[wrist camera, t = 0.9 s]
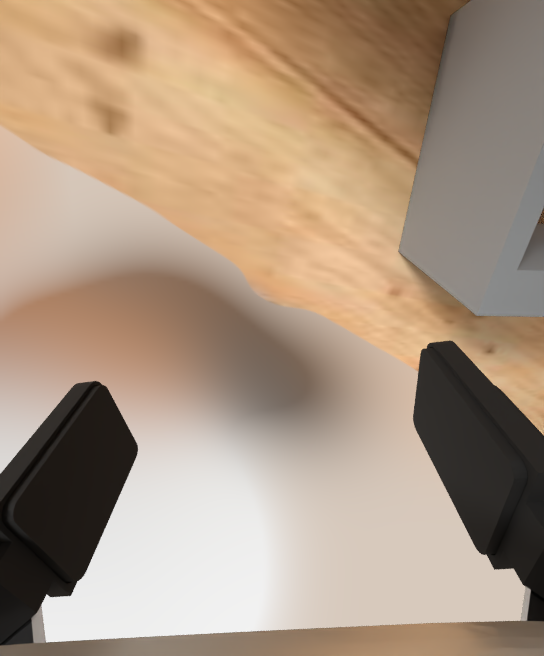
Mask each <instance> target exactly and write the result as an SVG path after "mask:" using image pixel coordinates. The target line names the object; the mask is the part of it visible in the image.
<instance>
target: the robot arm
mask: <svg viewBox="0 0 544 656" xmlns="http://www.w3.org/2000/svg"><path fill="white" fill-rule="evenodd" d="M413 421H414V425H415V428H416V431H417V433H418V434H419V437H420V438H421V440H422V442H423V444H424V446H425V448H426V450H427V452H428V454H429V456H430V458H431V460H432V462H433V464H434V466H435V468H436V470H437V472H438V474H439V476H440V478H441V480H442V482H443V484H444V486H445V488H446V490H447V492H448V493H449V496H450V498H451V499H452V502H453V504H454V505H455V507H456V510H457V512H458V514H459V516H460V518H461V520H462V522H463V523H464V525H465V528H466V529H467V531H468V533H469V535H470V537H471V539H472V541H473V543H474V545H475V547H476V549H477V550H478V551H479V553H481V554H483V555H485V554H487V556H488V558H489V560H490V562H491V564H492V566H493V568H494V569H511V568H514V570H515V571H516V573H517V575H518V577H519V578H520V580H521V582H522V584H523V585H524V586H526V589H525V595H524V602H523V608H522V616H521V621H503V622H502V621H498V622H463V623H462V622H460V623H459V622H458V623H426V624H425V623H424V624H403V625H380V626H358V627H338V628H337V627H336V628H314V629H294V630H273V631H253V632H233V633H213V634H195V635H176V636H155V637H138V638H137V637H136V638H119V639H101V640H83V641H66V642H48V643H46V640H45V632H44V623H43V615H42V607H41V604H42V602H43V600H44V598H45V596H46V594H47V595H49V596H50V597H60V596H71V594H72V592H73V590H74V587H75V585H76V583H77V581H79V580H80V579H81V578H82V577H83V576H84V574H85V572H86V570H87V568H88V566H89V563H90V561H91V559H92V557H93V554H94V552H95V550H96V548H97V545H98V543H99V541H100V538H101V536H102V534H103V532H104V529H105V527H106V525H107V523H108V520H109V518H110V516H111V513H112V511H113V509H114V507H115V504H116V502H117V500H118V497H119V495H120V493H121V491H122V488H123V486H124V484H125V481H126V479H127V477H128V475H129V472H130V470H131V468H132V466H133V463H134V461H135V458H136V456H137V452H138V446H137V443H136V441H135V439H134V437H133V436H132V434H131V432H130V430H129V428H128V426H127V424H126V422H125V420H124V419H123V417H122V415H121V413H120V411H119V409H118V407H117V406H116V404H115V402H114V400H113V398H112V396H111V394H110V392H109V390H108V389H107V387H106V386H104V385H102V384H101V383H100V382H97V381H93V382H85V383H78V384H75V385H74V386H73V387H72V388H71V390H70V391H69V392H68V393H67V394H66V396H65V397H64V398H63V399H62V400H61V402H60V403H59V404H58V405H57V407H56V408H55V409H54V410H53V411H52V412H51V414H50V415H49V416H48V418H47V419H46V420H45V421H44V422H43V423H42V425H41V426H40V427H39V428H38V429H37V431H36V432H35V433H34V434H33V435H32V437H31V438H30V439H29V440H28V441H27V443H26V444H25V445H24V446H23V447H22V449H21V450H20V451H19V452H18V453H17V455H16V456H15V457H14V458H13V460H12V461H11V462H10V463H9V464H8V466H7V467H6V468H5V469H4V470H3V472H2V473H1V474H0V656H544V435H543V434H542V433H541V432H540V431H539V430H538V429H537V428H536V427H535V426H534V425H533V424H532V423H531V422H530V421H529V419H528V418H527V417H526V416H525V415H524V414H523V413H522V412H521V411H520V410H519V409H518V408H517V407H516V406H515V405H514V403H513V402H512V401H511V400H510V399H509V398H508V397H507V396H506V395H505V394H504V393H503V392H502V391H501V390H500V389H499V388H498V387H497V386H494V385H493V384H492V383H491V382H490V380H489V379H488V378H487V377H486V376H485V375H484V374H483V373H482V372H481V371H480V370H479V369H478V368H477V366H476V365H475V364H474V363H473V362H472V361H471V360H470V359H469V358H468V357H467V356H466V355H465V353H464V352H463V351H462V350H461V349H460V348H459V347H458V346H457V345H456V344H455V343H454V342H453V341H443V342H434V343H429V344H428V346H427V349H422V351H421V356H420V364H419V372H418V381H417V390H416V398H415V406H414V414H413Z"/></svg>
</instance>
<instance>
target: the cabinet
mask: <svg viewBox="0 0 544 656" xmlns="http://www.w3.org/2000/svg"><path fill="white" fill-rule="evenodd" d="M543 208H544V0H471V1H469V2H468V3H467V4H465V5H464V6H463V7H461V8H460V9H459V10H457V11H456V12H455V13H453V14H452V15H451V16H450V21H449V25H448V30H447V34H446V39H445V44H444V48H443V53H442V57H441V62H440V66H439V71H438V75H437V80H436V84H435V89H434V93H433V98H432V102H431V107H430V111H429V116H428V120H427V125H426V129H425V134H424V138H423V143H422V147H421V152H420V156H419V161H418V166H417V170H416V175H415V179H414V184H413V188H412V193H411V197H410V202H409V206H408V211H407V215H406V220H405V224H404V229H403V233H402V238H401V242H400V247H399V251H398V252H400V253H401V254H402V255H403V256H404V257H406V258H407V259H408V260H409V261H411V262H412V263H413V264H414V265H415V266H417V267H418V268H419V269H420V270H421V271H423V272H424V273H425V274H426V275H428V276H429V277H430V278H431V279H432V280H434V281H435V282H436V283H437V284H439V285H440V286H441V287H442V288H443V289H445V290H446V291H447V292H448V293H450V294H451V295H452V296H453V297H454V298H456V299H457V300H458V301H459V302H461V303H462V304H463V305H464V306H465V307H467V308H468V309H469V310H470V311H472V312H473V313H474V314H475V315H476V316H526V317H544V224H537V222H538V220H539V218H540V215H541V213H542V211H543Z"/></svg>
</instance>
